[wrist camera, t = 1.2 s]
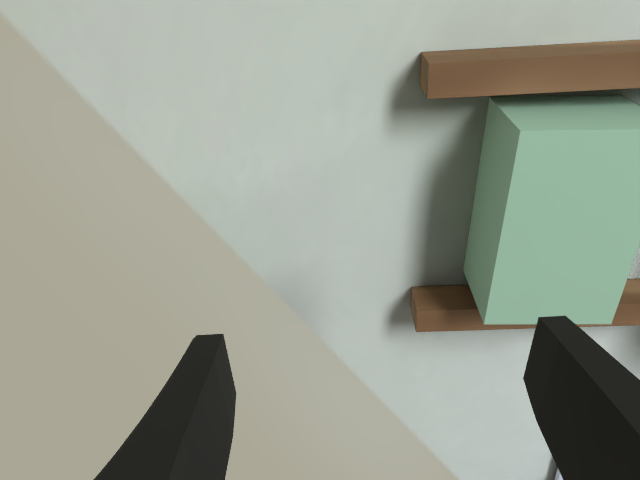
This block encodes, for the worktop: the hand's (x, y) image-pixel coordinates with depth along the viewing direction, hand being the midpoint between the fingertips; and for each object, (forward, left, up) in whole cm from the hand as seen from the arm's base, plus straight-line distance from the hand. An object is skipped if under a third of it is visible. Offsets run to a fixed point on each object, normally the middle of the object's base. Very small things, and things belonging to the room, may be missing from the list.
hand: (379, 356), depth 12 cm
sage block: (-1, -7, -11) cm, 13 cm away
